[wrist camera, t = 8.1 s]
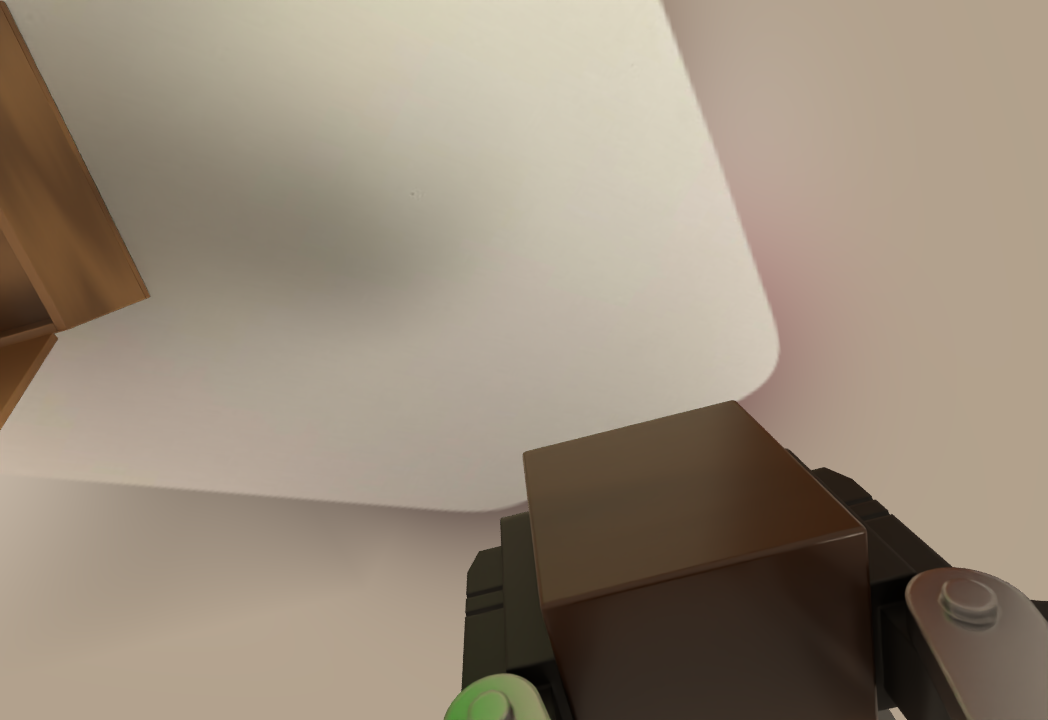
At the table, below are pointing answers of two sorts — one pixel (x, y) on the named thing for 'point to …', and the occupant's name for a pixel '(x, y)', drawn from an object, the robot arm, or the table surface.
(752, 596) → the block
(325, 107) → the table surface
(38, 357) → the flap
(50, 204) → the carton
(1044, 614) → the robot arm
